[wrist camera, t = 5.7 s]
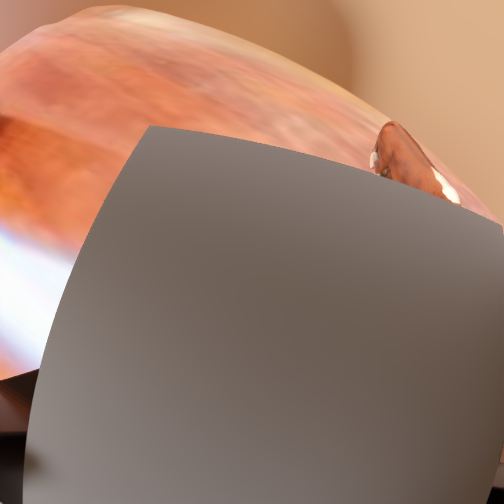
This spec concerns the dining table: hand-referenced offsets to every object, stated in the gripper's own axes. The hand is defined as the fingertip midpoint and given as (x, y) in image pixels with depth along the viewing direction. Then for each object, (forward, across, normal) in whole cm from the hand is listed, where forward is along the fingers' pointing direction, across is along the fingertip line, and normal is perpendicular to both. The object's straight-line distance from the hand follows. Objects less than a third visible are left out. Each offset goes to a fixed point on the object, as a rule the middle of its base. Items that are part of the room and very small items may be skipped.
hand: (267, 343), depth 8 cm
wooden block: (+4, 0, +6) cm, 8 cm away
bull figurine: (+22, -12, -2) cm, 25 cm away
